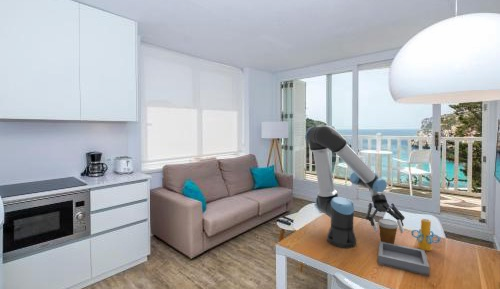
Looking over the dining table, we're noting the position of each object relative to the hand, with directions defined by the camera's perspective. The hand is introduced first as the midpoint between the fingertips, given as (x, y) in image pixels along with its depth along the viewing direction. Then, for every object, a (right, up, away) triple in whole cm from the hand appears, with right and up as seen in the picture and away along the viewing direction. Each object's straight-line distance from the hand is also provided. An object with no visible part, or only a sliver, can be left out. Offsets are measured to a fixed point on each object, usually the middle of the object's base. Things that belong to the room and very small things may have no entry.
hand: (389, 231), depth 131 cm
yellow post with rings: (+15, -7, -5) cm, 18 cm away
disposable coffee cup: (-1, -7, +1) cm, 7 cm away
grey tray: (-4, -7, -17) cm, 19 cm away
